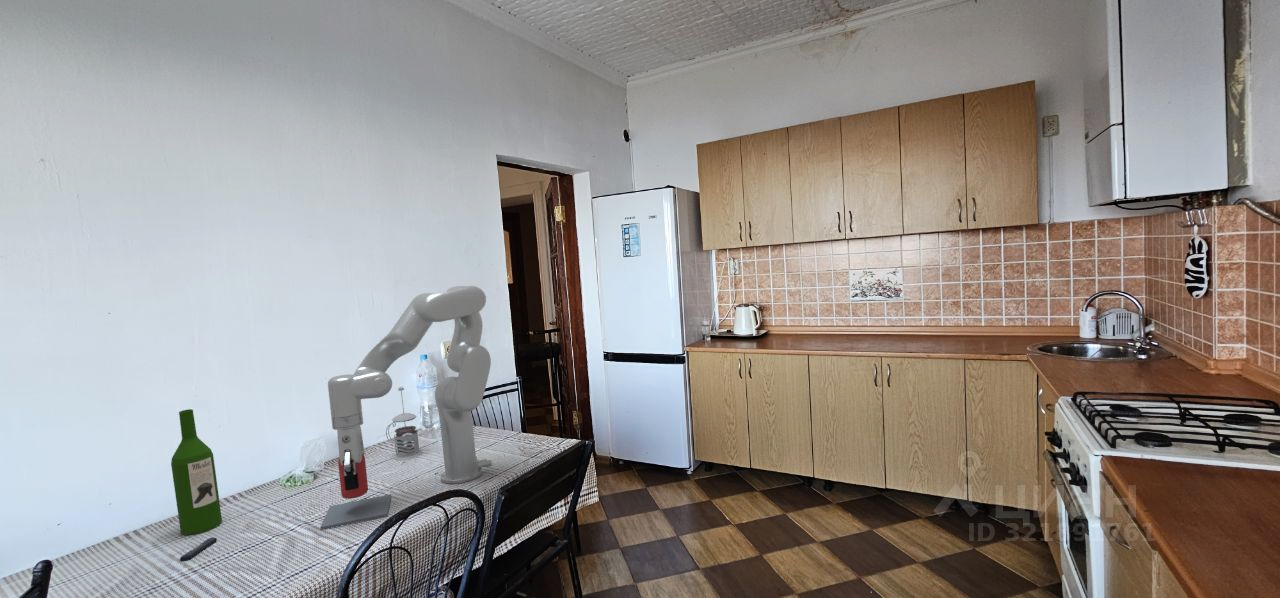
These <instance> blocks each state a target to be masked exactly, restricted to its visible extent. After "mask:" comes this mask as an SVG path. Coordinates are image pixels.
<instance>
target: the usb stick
mask: <svg viewBox="0 0 1280 598" xmlns="http://www.w3.org/2000/svg"><path fill="white" fill-rule="evenodd" d="M217 540H218V539H217V537H209V538H207V539H206V540H204V541H203V542H201V543H199V544H198V545H197V546H196V547H194V548H192V549H190V550H188V551H187V552H186V553H184V554H183V555H182V556H180V559H179V561H180V562H188V561H190V560H191V559H193V558H195V557H196V556H198V555H199V554H201V553H202V552H203V550H204V551H205V550H207V549H208V548H209V547H212V546H213V545H214V544H215V543H217ZM207 547H208V548H207ZM206 548H207V549H206ZM200 552H201V553H200ZM197 554H198V555H197Z"/></svg>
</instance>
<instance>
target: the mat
mask: <svg viewBox="0 0 1280 598" xmlns="http://www.w3.org/2000/svg"><path fill="white" fill-rule="evenodd" d="M391 501H392V494H385V495H380V496H375V497H370V498H365V499H359V500H355V501H350V502H345V503H339V504H334V505H330V506H329V507H328V509H327V512H326V514H325V516H324V518H323V520H322V523H321V525H320V531H323V529H324V530H328V529H327V528H329V529H332V528H331V527H334V528H337V527H336V526H339V527H342V526H341V525H344V526H348V525H353V524H357V523H362V522H366V521H367V522H368V521H372V520H377V519H381V518H387V517H388V515H389V513H390V512H389V511H390V505H391ZM347 524H348V525H347Z"/></svg>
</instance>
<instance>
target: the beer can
mask: <svg viewBox="0 0 1280 598" xmlns="http://www.w3.org/2000/svg"><path fill="white" fill-rule="evenodd" d="M337 460H338V461H337V464H338V465H337V467H338V473H339V482H340V483H339V484H340V492H341V493H340V494H341V497H342V498H344V499H347V500H349V499H350V500H351V499H357V498H360V497H362V496H365V494H367V493H368V492H369V486H368V485H369V484H368V476H367V475H368V474H367V466H366V457H365V453H364V454H362V461H361V462H360V463H358V462H356V473H358V483H359V487H358V488H357V489H352V490H345V481H344V466H343V465H344V464H343V465H341V463H340V457H338V459H337ZM343 462H344V461H343ZM353 462H354V460H351V461H350V463H353ZM351 467H352V468H353V465H352V466H351Z"/></svg>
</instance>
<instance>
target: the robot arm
mask: <svg viewBox="0 0 1280 598" xmlns="http://www.w3.org/2000/svg"><path fill="white" fill-rule="evenodd" d="M486 302H487V296H486V294H485V292H484V290H482V288H480V287H478V286H475V285H458V286H457V285H455V286H452V287H450V288H448V289H447V290H446V291H443V292H435V293H434V292H432V293H431V292H430V293H429V292H428V293H426V292H425V293H420V294H417V295H416V296H415V297H414V298H413V299H412V300H411V302H410V303H409V304H408V306H406V309H405V310H404V311H403V313H402V314H401V315H400V317H399V319H398V320H397V321H396V323H395V324H394V326H393V327H392V328H391V329H390V331H389V332H388V334H386V335H385V336H384V337H383V338H381V340H380V341H379V342H378V343H377V344H376V345H375V346H373V348H372V349H371V350H370V351H369V352H368V353H367V354H366V356H365V357H364V358H363V360H362V361H361V362H360V364H358V366H357V368H356V369H355V371H354V373H353V374H342V375H341V374H340V375H337V376H336V375H335V376H333V377H331V378H329V380H328V381H327V389H328V398H329V400H328V401H329V408H330V416H331V418H330V419H331V426H332V430H335V431H336V432H337V433H336V434H337V444H338V445H337V446H338V456H339V457H340V463H341V465H343V464H344V465H343V466H344V481H345V490H352V489H357V488H358V487H359V483H358V473H356V462H358V463H360V462H361V461H362V454H364V455H365V447H364V446H365V445H364V440H363V433H362V428H361V426H362V425H363V424H364V419H363V418H364V417H363V410H362V409H363V408H362V400H365V399H379V398H381V397H384V396H386V395H387V394H389V393H390V392H391V389H392V387H393V379H392V377H391V376H390V375H389V374H388V373H386V372H387V371H388V369H389V368H390V367H391V366H392V364H393V363H394V362H395V361H397V360H399V358H401V357H402V356H406V355H407V354H409V353H410V352H413V351H414V350H415V349H416V348H417V347H418V345H419V344H420V342H421V341H422V339H424V336H425V335H426V333H427V332H428V330H429V329H430V328H431V326H432V325H433V323H442V322H446V321H451V320H454V327H453V328H454V330H453V335H452V339H451V342H450V346H449V350H448V354H447V358H446V363H447V366H448V368H449V370H451V371H453V372H455V373H458V375H457V376H447V377H445V378H443V379H441V380H440V381H439V382H438V383H437V384H436V387H435V390H434V399H435V404H436V408H437V410H438V411H437V412H438V415H439V423H440V435H441V445H442V456H443V462H444V464H443V465H444V471H443V472H442V473H441V474H440V481H441V482H442V483H445V484H462V483H467V482H469V481H473V480H475V479H477V478H479V477H480V476H481V475H482V474H483V468H485V467H486V468H487V467H492V466H493V465H492V459H489V460H488V459H487V458H484V459H478V457H477V455H476V444H475V435H474V433H475V432H474V425H473V423H474V422H473V417H472V411H475V410H476V409H477V408H478V407H479V405H480V404H481V403H482V401H483V398H484V396H485V392H486V387H487V382H488V380H489V379H488V378H489V374H490V371H491V365H492V364H491V363H492V361H491V354H490V352H489V351H488V349H487V348H486V347H485V346H483V345H480V344H481V340H482V334H483V319H482V316H481V313H480V312H481V311H482V310H483V309H484V308H485V306H486ZM339 457H338V458H339ZM351 460H354V462H353V463H350V461H351ZM343 461H344V462H343ZM352 465H353V468H352V467H351V466H352Z"/></svg>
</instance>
